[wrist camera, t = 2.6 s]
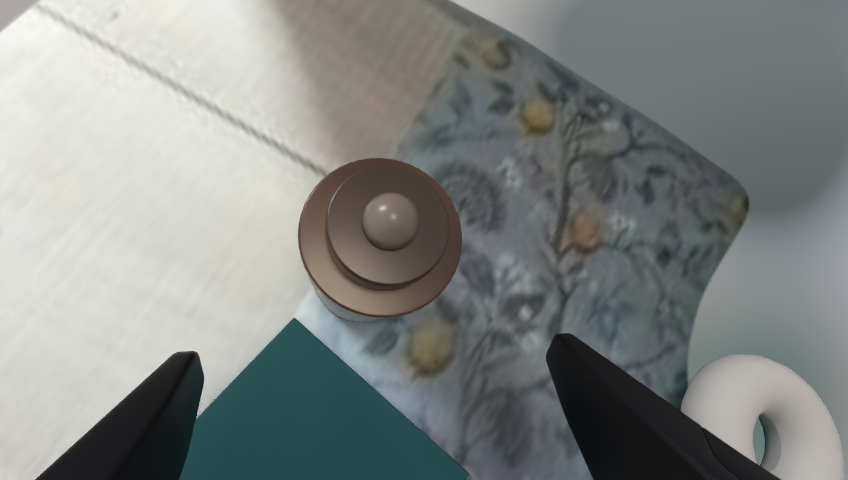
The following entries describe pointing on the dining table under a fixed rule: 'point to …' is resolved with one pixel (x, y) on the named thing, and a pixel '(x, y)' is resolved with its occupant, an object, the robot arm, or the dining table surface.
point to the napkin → (309, 424)
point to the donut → (767, 416)
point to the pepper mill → (378, 239)
